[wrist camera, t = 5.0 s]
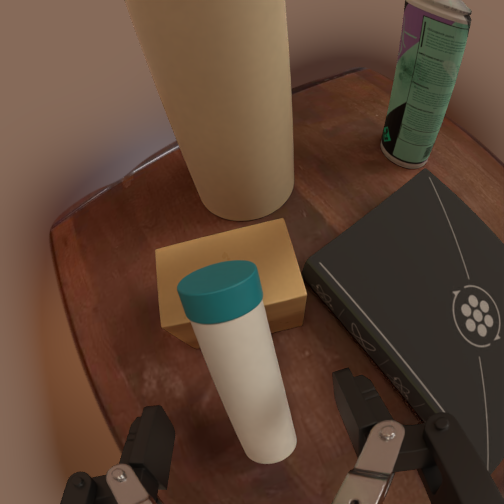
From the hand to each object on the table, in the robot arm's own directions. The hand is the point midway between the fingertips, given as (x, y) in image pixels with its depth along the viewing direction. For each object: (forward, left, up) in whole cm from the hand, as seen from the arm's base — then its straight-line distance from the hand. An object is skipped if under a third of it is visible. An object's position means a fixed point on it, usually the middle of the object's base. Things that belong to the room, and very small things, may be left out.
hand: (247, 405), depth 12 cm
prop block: (+6, +4, -7) cm, 10 cm away
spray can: (+27, -5, -8) cm, 29 cm away
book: (+10, -12, -8) cm, 18 cm away
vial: (+1, +1, -2) cm, 2 cm away
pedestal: (+17, +9, -7) cm, 21 cm away
